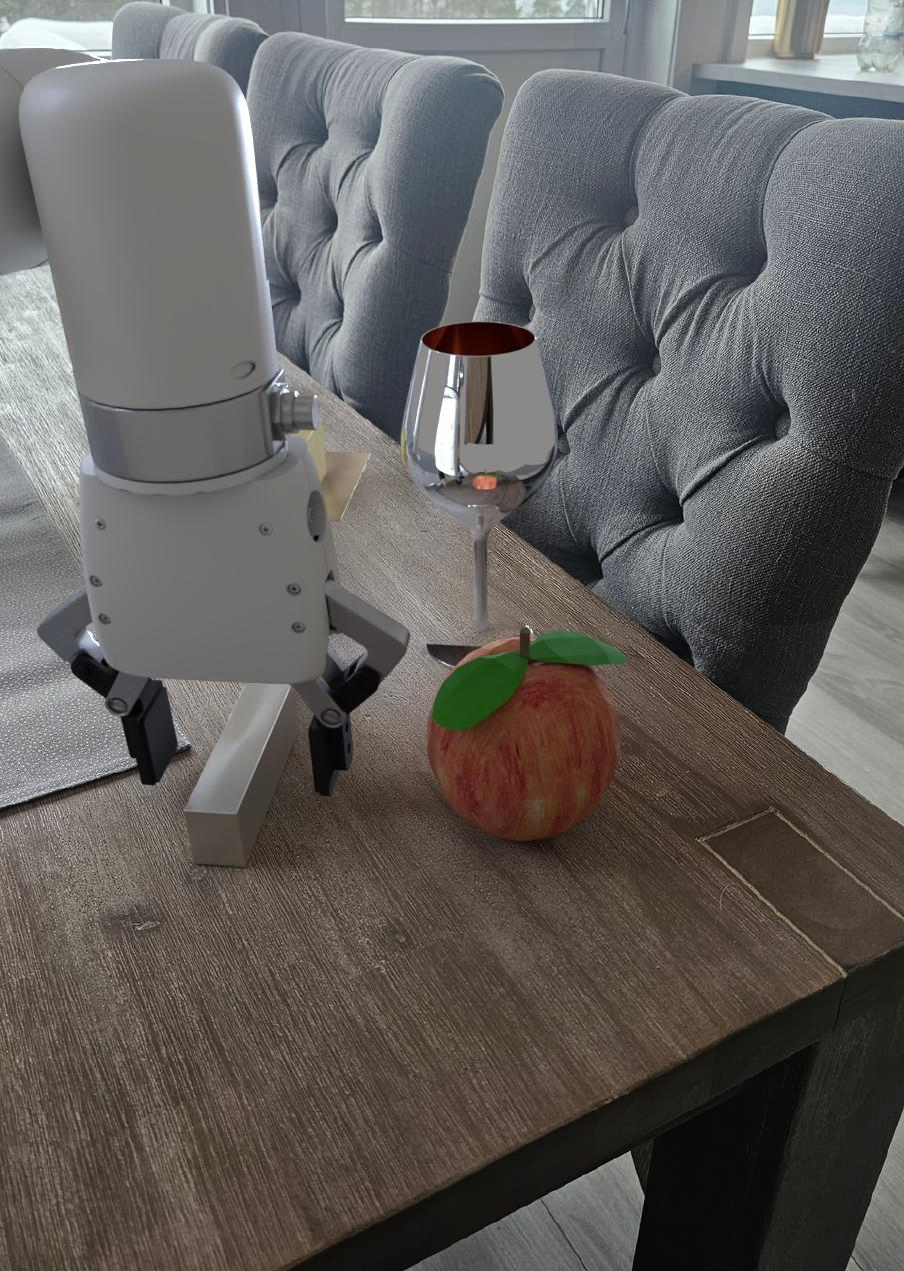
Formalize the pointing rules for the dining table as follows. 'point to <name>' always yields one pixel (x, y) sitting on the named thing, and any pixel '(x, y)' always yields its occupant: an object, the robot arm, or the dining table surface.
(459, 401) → the wineglass
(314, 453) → the butter slice
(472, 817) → the fruit
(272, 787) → the knife
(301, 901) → the dining table surface
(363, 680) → the robot arm
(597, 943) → the dining table surface
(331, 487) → the board
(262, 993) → the dining table surface
